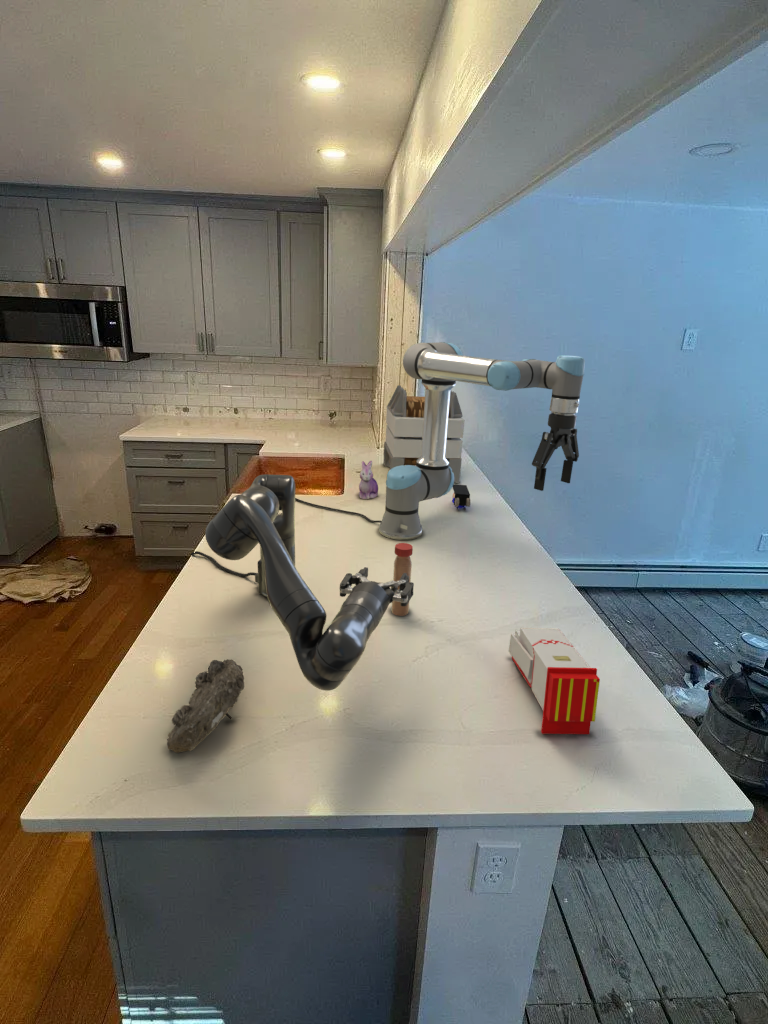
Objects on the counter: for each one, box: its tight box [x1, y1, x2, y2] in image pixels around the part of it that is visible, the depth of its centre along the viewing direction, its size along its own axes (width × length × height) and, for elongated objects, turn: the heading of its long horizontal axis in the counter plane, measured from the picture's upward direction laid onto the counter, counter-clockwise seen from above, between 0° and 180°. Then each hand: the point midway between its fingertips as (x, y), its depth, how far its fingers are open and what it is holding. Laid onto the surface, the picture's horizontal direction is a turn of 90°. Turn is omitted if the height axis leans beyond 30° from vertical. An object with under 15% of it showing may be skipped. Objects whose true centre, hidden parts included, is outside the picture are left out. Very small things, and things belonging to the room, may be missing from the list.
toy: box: [508, 627, 601, 735], centre depth 119 cm, size 12×13×30 cm
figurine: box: [358, 460, 379, 500], centre depth 236 cm, size 9×10×15 cm
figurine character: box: [451, 483, 471, 512], centre depth 229 cm, size 7×8×15 cm
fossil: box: [166, 658, 245, 754], centre depth 106 cm, size 22×10×15 cm
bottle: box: [390, 555, 413, 617], centre depth 146 cm, size 4×4×18 cm
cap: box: [394, 542, 414, 557], centre depth 143 cm, size 4×4×2 cm
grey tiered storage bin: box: [383, 384, 465, 484], centre depth 268 cm, size 34×33×41 cm
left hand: (385, 574), depth 120 cm, fingers open, 8 cm apart
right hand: (552, 485), depth 166 cm, fingers open, 13 cm apart
